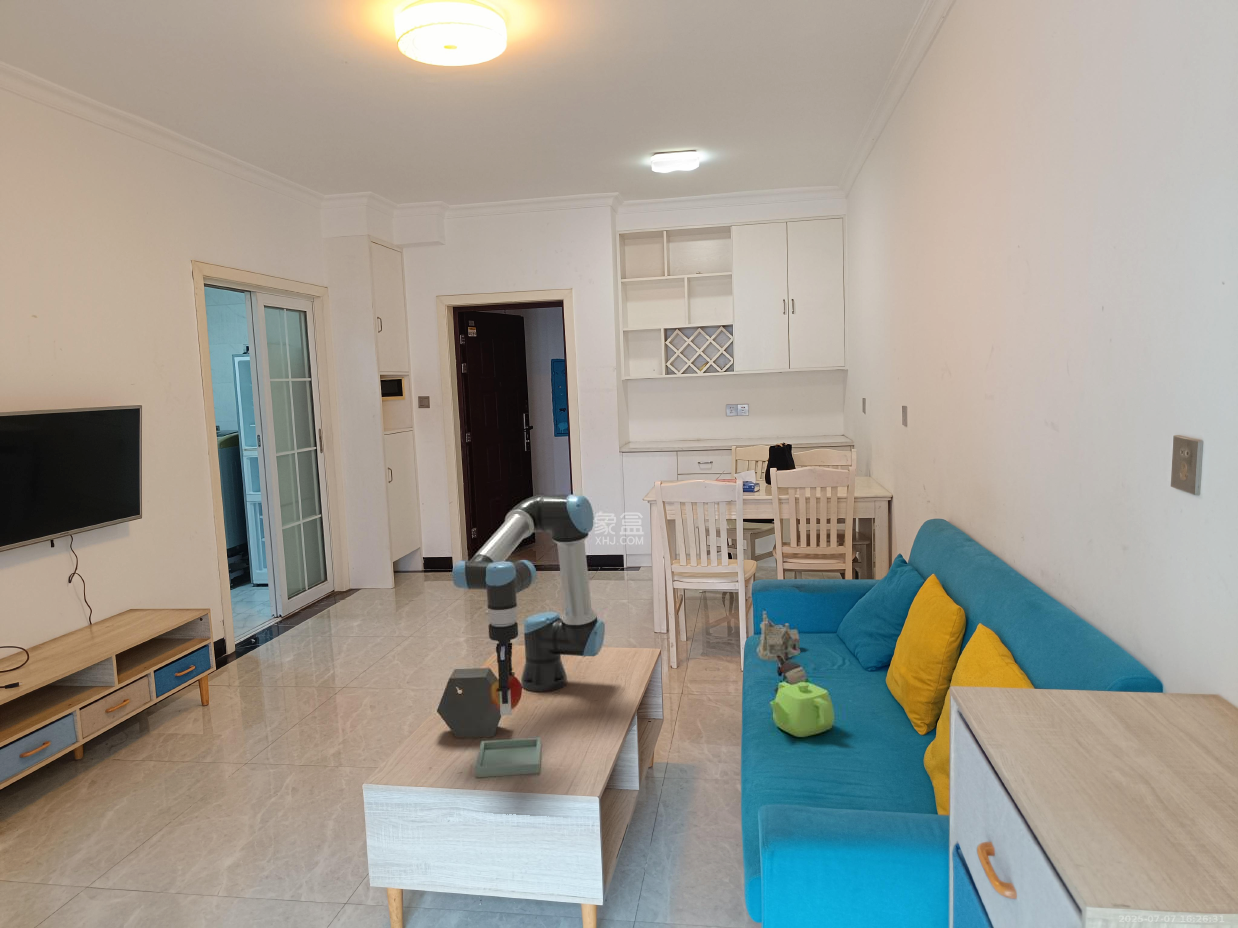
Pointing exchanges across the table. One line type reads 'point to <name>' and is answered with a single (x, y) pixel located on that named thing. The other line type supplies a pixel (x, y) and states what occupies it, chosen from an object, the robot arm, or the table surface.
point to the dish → (509, 757)
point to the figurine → (791, 671)
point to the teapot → (802, 709)
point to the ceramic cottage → (777, 641)
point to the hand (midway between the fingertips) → (507, 707)
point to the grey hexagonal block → (470, 704)
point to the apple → (514, 691)
